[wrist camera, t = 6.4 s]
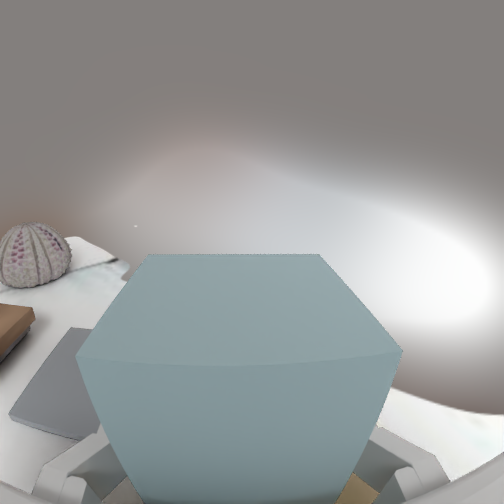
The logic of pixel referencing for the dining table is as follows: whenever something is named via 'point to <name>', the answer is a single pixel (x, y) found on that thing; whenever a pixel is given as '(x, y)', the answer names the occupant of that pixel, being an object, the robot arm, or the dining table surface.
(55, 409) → the grey tile
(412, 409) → the dining table surface
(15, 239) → the sea urchin shell
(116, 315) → the teal-grey block
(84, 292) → the dining table surface
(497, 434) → the dining table surface
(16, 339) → the walnut slab on rollers
